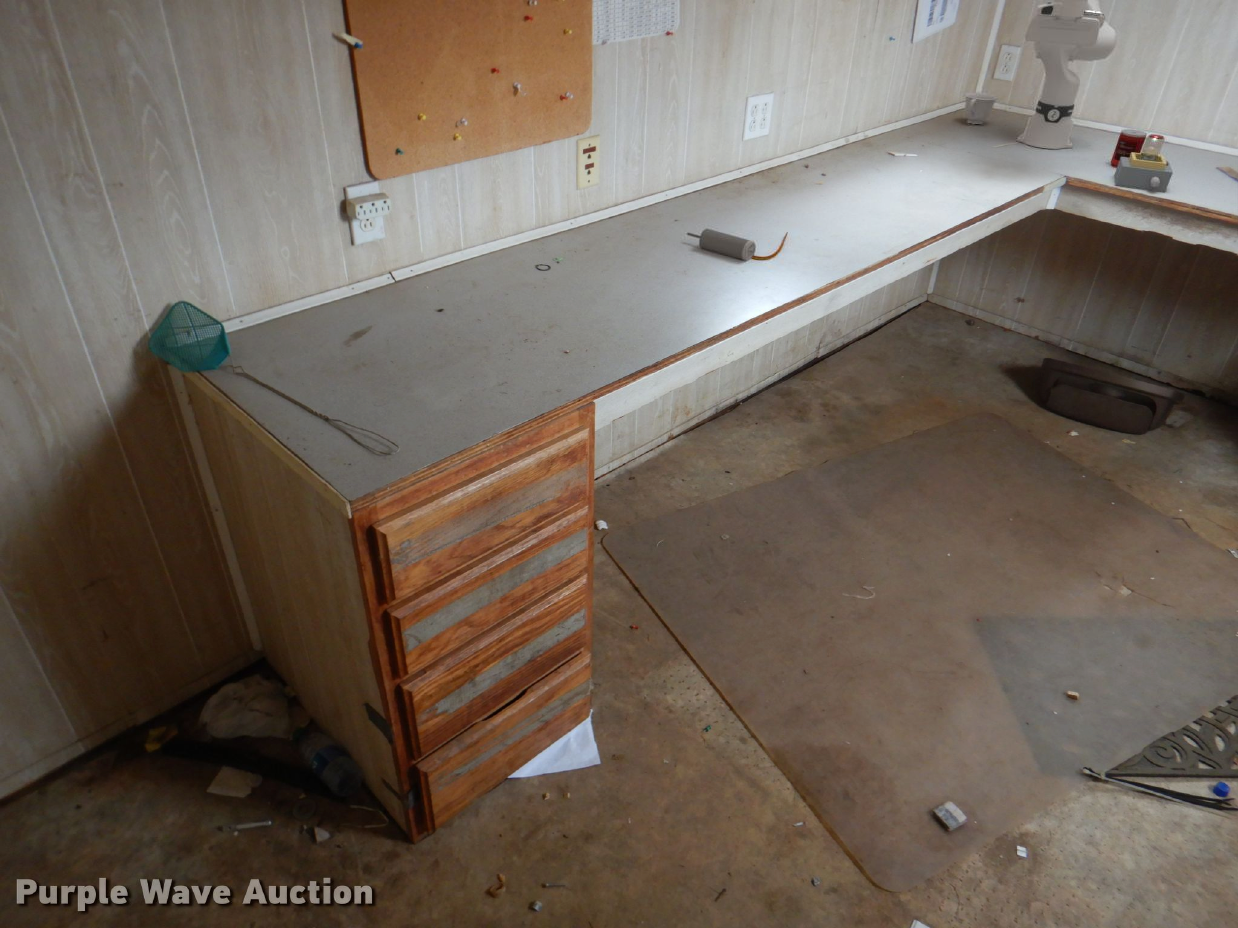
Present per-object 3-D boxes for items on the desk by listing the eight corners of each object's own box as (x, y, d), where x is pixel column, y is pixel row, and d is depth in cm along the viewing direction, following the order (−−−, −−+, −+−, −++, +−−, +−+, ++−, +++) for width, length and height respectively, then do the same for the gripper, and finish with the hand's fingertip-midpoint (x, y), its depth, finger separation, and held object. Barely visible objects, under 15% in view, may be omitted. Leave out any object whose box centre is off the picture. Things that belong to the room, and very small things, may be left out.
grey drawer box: (1114, 175, 279) (1123, 150, 275) (1161, 182, 275) (1171, 156, 270) (1116, 188, 268) (1125, 162, 263) (1166, 195, 263) (1176, 168, 259)
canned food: (1129, 163, 292) (1141, 129, 286) (1138, 170, 285) (1151, 136, 279) (1106, 162, 292) (1117, 128, 286) (1114, 168, 286) (1126, 134, 280)
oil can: (1137, 160, 272) (1147, 133, 267) (1154, 163, 270) (1164, 135, 265) (1138, 164, 268) (1148, 137, 263) (1155, 167, 266) (1166, 139, 261)
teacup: (950, 124, 330) (957, 96, 325) (965, 118, 340) (972, 91, 334) (981, 130, 324) (988, 102, 318) (995, 123, 334) (1002, 96, 328)
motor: (757, 267, 207) (761, 246, 204) (680, 244, 217) (684, 224, 215) (799, 255, 224) (803, 236, 222) (726, 235, 235) (730, 216, 233)
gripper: (1106, 11, 255) (1090, 61, 263) (1033, 5, 261) (1019, 55, 269) (1107, 13, 250) (1091, 65, 258) (1032, 7, 256) (1019, 58, 264)
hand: (1054, 59), depth 264 cm, fingers open, 8 cm apart
